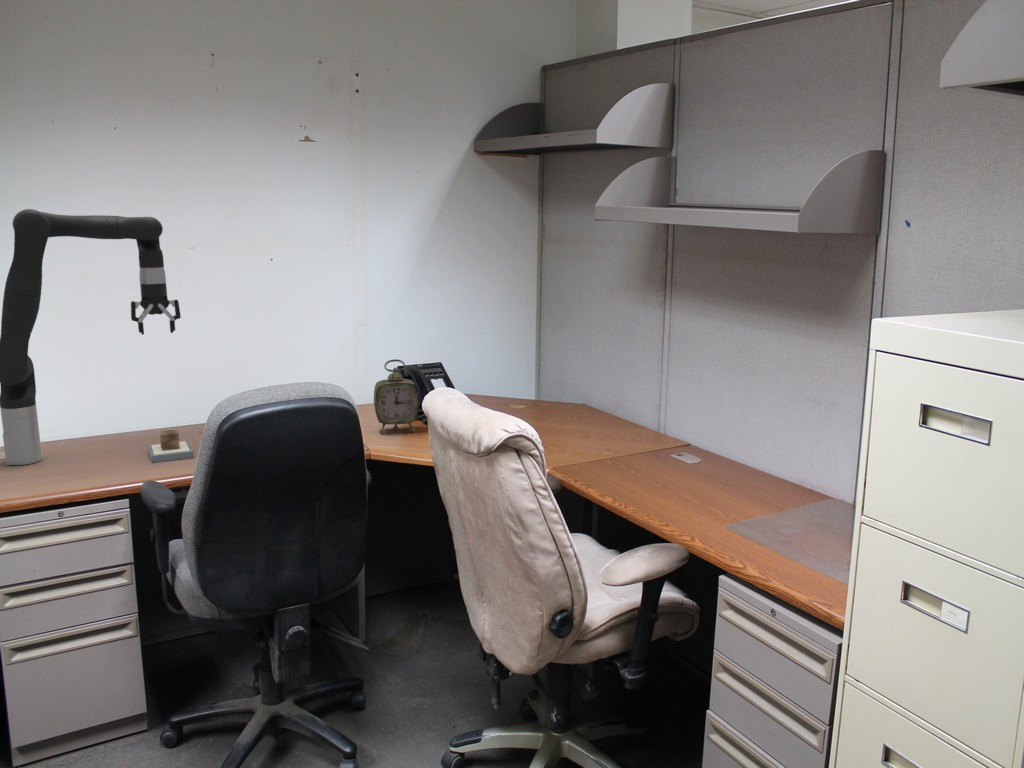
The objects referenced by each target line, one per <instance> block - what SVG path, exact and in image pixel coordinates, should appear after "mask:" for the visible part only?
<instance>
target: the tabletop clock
mask: <svg viewBox="0 0 1024 768" xmlns="http://www.w3.org/2000/svg"><path fill="white" fill-rule="evenodd" d="M393 362H394V363H395V362H399V363H401V364H403V367H402V368H400V369H397V367H393V369H388V368H387V365H388V364H389V363H393ZM383 367H384V369H385V370H386V371H387V372H389V375H388V376H387V379H381V380H379V381H377V382H375V385H374V388H373V407H374V411H375V416H376V418H377V421H378V422H379V423H380V424H382V426H381V429H379V431H378V433H379V434H381V435H382V434H384V433H385V430H384V428H385V426H386V425H390V426H391V425H393V430H395V431H396V430H399V429H398V428H399V426H398V425H405V424H408V425H409V427H410V432H412V433H415V431H416V427H414V426H413V425H412V423H414V422H415V421H416V420H417V418H418V413H419V394H418V389H417V386H416V385H415V383H414V382H413V380H412V379H409V378H408V379H407V378H403V376H402V374H401V373H399V372H401V371H403V370H405V368H406V364H405V362H404V361H403V360H402V359H397V358H396V359H389V360H388V361H386V362H385V363H384V366H383Z"/></svg>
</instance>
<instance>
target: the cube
mask: <svg viewBox="0 0 1024 768" xmlns="http://www.w3.org/2000/svg"><path fill="white" fill-rule="evenodd" d="M179 434H180V433H179V431H178V429H167V430H160V431H159V441H160V444H161V449H162V451H165V450H173V449H180V447H179V442H180V438H179V437H180V435H179Z"/></svg>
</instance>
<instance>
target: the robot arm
mask: <svg viewBox="0 0 1024 768" xmlns="http://www.w3.org/2000/svg"><path fill="white" fill-rule="evenodd" d="M12 229H13V231H14V236H13V237H14V244H13V257H12V261H11V264H10V268H9V270H8V273H7V276H6V281H5V284H4V285H5V286H4V291H3V299H2V306H1V307H2V308H1V309H2V310H1V320H0V321H1V322H0V416H1V424H2V439H3V448H4V456H5V465H6V466H22V465H23V466H24V465H31V464H34V463H37V462H40V461H42V460H43V451H42V445H41V435H40V428H39V421H38V420H39V418H38V411H37V402H36V395H37V386H36V376H35V367H34V363H33V360H32V358H31V357H30V356H29V344H30V343H29V342H30V339H31V335H32V332H33V330H34V327H35V324H36V321H37V318H38V315H39V311H40V305H41V298H42V285H43V262H44V261H43V260H44V254H45V250H46V246H47V242H48V239H49V238H56V237H72V238H73V237H75V238H84V239H85V238H86V239H95V240H126V239H127V240H128V239H129V240H135V242H136V244H137V250H138V263H139V265H138V267H139V285H140V296H141V298H140V301H135V300H132V301H131V302H130V317H131V321H133V322H136V323H137V328H138V332H139V334H140V335H144V334H145V329H144V328H145V327H144V322H143V321H144V320H145V318H146V317H148V315H151V316H153V315H163V314H164V315H165V316H166V317H168V319H169V320H168V321H169V329H170V330H169V332H170V333H171V334H174V332H175V331H176V320H179V319H181V318H182V316H181V310H180V304H179V300H178V299H173V300H169V299H168V291H167V289H168V288H167V277H166V276H167V275H166V270H165V264H164V254H163V251H162V249H161V243H160V237H161V235H162V233H163V232H164V231H163V229H164V228H163V225H162V223H161V222H160V221H159V220H158V219H157V218H156V217H152V216H132V217H131V216H120V215H97V214H96V215H95V214H94V215H69V214H68V215H67V214H56V213H50V212H44V211H43V212H42V211H39V210H36V209H31V208H28V209H27V208H26V209H23V210H20V211H19V212H17V213H16V214H15V215H14V217H13V219H12ZM170 305H171V306H172V308H173V307H174V312H175V314H174V315H172V314H171V313H170V311H169V310H167V309H168V307H169V306H170ZM139 306H141V307H142V309H143V310H142V312H141V314H140V315H139V317H137V315H136V313H137V309H139Z"/></svg>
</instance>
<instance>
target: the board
mask: <svg viewBox="0 0 1024 768" xmlns="http://www.w3.org/2000/svg"><path fill="white" fill-rule="evenodd" d="M179 447H180V449H173V450H165V451H162V449H161V443H157V444H148V445H147V451H148V456H149V455H150V456H149V458H150V462H156V463H161V462H160V461H164V462H170V461H169V460H172V461H178V459H181V460H188V459H195V454H194V449H193V448H192V445H191V443H190V441H189V440H182V441H179ZM167 460H168V461H167Z"/></svg>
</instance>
